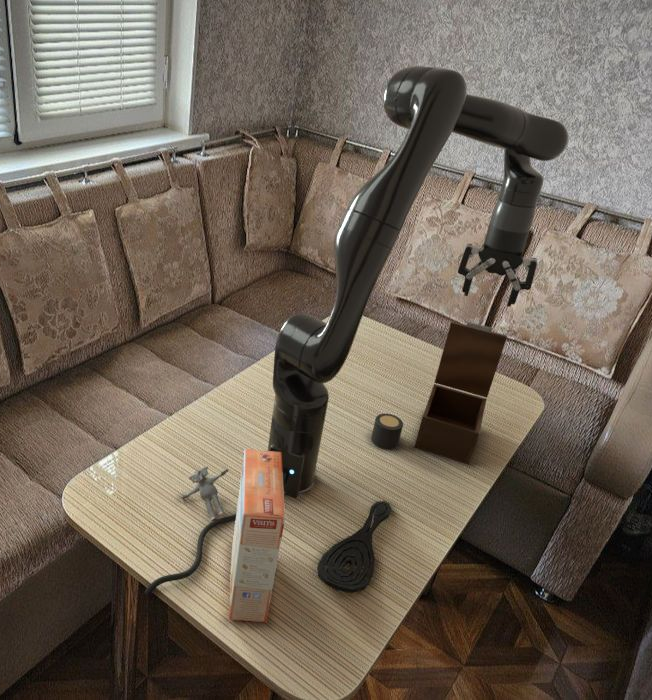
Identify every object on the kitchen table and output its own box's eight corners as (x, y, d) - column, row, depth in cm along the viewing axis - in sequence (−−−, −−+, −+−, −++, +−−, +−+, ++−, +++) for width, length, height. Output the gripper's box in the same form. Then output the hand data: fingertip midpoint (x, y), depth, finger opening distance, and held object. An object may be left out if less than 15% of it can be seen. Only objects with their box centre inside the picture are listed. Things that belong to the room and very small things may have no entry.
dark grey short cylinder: (395, 452, 135) (400, 432, 132) (368, 444, 137) (372, 424, 134) (400, 438, 139) (405, 418, 137) (374, 429, 141) (379, 410, 139)
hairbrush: (410, 502, 118) (358, 592, 98) (406, 518, 120) (354, 610, 100) (367, 484, 121) (308, 567, 102) (363, 500, 123) (304, 584, 103)
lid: (507, 337, 133) (509, 325, 137) (450, 322, 136) (454, 312, 141) (487, 397, 141) (489, 385, 145) (434, 382, 144) (438, 371, 148)
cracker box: (269, 624, 97) (286, 517, 87) (227, 621, 97) (240, 514, 86) (268, 551, 109) (283, 449, 99) (231, 548, 109) (242, 446, 98)
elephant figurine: (185, 529, 112) (168, 483, 117) (202, 534, 117) (185, 489, 122) (235, 499, 110) (215, 453, 115) (250, 506, 115) (230, 461, 120)
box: (469, 464, 134) (479, 433, 130) (414, 447, 137) (422, 416, 133) (477, 428, 145) (486, 398, 141) (426, 413, 148) (434, 383, 144)
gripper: (470, 221, 128) (449, 298, 136) (548, 238, 124) (522, 315, 132) (474, 211, 135) (455, 285, 143) (549, 226, 130) (524, 301, 138)
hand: (487, 299), depth 137 cm, fingers open, 8 cm apart
